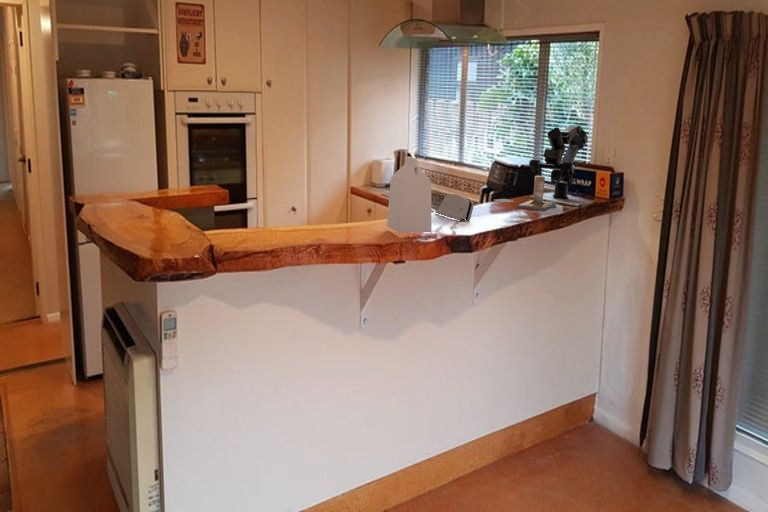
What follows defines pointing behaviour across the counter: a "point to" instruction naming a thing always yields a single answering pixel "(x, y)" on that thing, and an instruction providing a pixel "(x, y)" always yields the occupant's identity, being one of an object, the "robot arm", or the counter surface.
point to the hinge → (456, 207)
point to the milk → (409, 199)
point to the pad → (503, 200)
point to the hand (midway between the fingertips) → (545, 182)
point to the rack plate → (542, 207)
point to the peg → (538, 190)
